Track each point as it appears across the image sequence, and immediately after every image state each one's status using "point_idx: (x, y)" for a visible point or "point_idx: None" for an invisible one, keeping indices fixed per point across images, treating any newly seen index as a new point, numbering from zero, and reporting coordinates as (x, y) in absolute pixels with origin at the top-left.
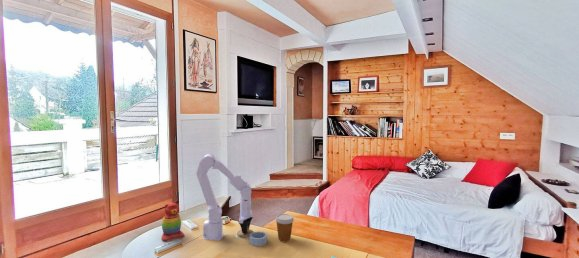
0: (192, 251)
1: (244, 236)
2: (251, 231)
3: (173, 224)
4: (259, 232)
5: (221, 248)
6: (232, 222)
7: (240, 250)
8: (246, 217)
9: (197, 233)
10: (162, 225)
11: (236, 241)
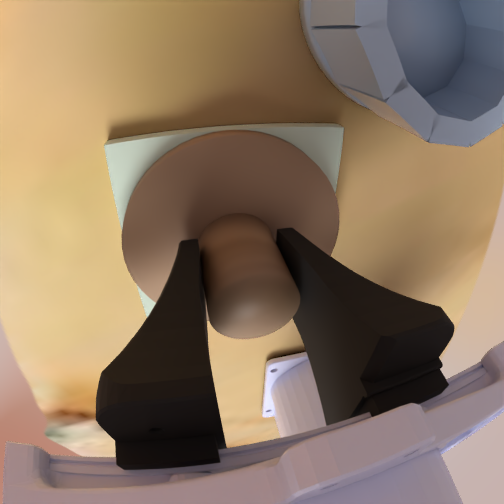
0: None
1: (337, 211)
2: (172, 193)
3: None
4: (385, 12)
5: (452, 274)
6: (53, 400)
7: (494, 155)
8: (480, 422)
9: (273, 431)
10: None
11: (375, 241)
